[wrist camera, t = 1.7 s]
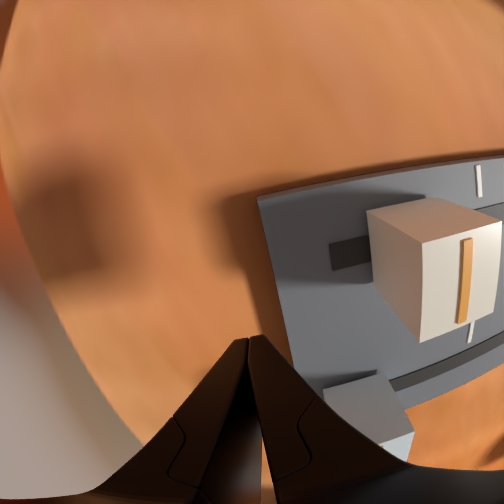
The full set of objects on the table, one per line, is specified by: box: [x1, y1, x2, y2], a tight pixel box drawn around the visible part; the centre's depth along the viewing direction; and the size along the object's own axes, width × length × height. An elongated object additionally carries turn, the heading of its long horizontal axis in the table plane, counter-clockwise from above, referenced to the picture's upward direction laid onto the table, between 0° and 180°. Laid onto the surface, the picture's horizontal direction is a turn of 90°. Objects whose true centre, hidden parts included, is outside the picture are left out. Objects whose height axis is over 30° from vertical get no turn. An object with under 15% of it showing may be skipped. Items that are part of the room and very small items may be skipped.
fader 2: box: [366, 197, 502, 343], centre depth 10 cm, size 4×4×5 cm
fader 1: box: [323, 372, 415, 462], centre depth 13 cm, size 4×4×5 cm
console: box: [256, 155, 504, 410], centre depth 14 cm, size 15×22×2 cm
